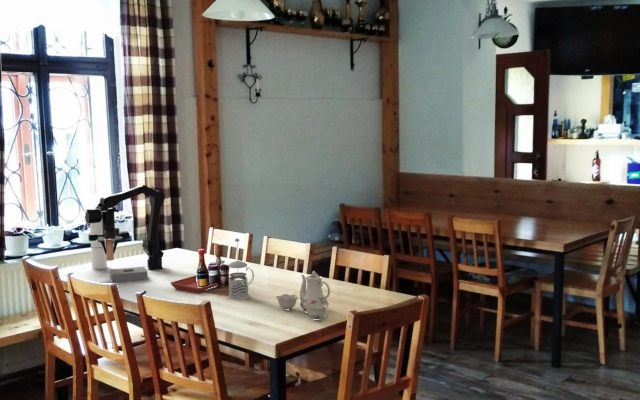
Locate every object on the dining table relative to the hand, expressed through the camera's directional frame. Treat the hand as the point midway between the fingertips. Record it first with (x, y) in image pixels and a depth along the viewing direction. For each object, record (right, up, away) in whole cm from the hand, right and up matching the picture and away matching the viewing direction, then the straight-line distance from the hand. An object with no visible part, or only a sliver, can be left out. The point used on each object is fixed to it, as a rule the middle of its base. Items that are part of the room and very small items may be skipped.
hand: (109, 253), depth 325 cm
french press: (+68, -15, -41) cm, 81 cm away
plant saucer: (+47, -14, -25) cm, 55 cm away
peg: (0, -3, 0) cm, 3 cm away
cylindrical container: (-11, -9, +18) cm, 23 cm away
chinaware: (+97, -18, -66) cm, 119 cm away
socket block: (+11, -11, -7) cm, 17 cm away
